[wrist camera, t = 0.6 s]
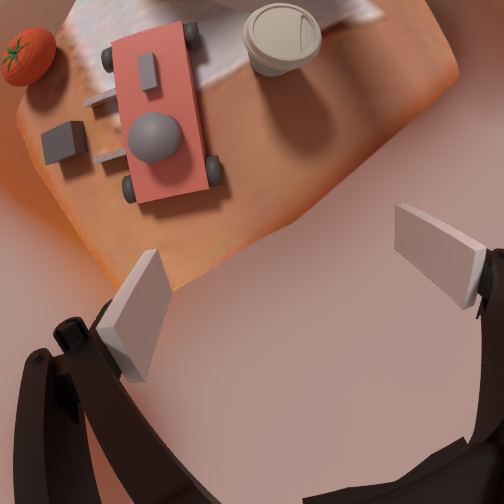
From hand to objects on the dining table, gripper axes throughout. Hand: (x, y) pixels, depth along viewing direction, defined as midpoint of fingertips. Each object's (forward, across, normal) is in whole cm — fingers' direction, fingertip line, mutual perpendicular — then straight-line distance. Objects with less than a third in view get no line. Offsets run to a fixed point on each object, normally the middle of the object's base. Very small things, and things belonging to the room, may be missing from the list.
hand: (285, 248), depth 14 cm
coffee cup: (+27, +6, +17) cm, 32 cm away
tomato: (+27, -30, +30) cm, 50 cm away
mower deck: (+27, -10, +12) cm, 31 cm away
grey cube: (+27, -26, +13) cm, 40 cm away
